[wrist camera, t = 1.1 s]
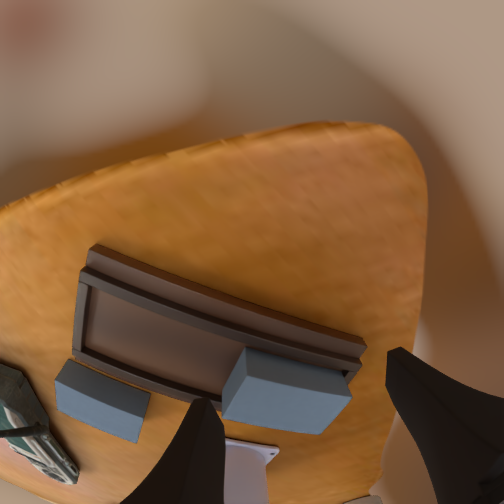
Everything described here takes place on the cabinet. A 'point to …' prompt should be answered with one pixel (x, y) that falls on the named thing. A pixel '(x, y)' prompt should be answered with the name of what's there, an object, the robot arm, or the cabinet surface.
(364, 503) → the flag stand
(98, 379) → the loose pad
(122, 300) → the dark brown wooden tray
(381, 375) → the cabinet surface
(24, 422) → the communication device
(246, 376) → the blue-grey rectangular block
